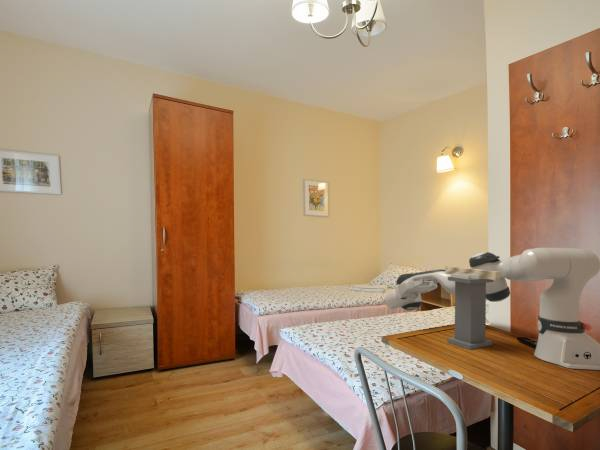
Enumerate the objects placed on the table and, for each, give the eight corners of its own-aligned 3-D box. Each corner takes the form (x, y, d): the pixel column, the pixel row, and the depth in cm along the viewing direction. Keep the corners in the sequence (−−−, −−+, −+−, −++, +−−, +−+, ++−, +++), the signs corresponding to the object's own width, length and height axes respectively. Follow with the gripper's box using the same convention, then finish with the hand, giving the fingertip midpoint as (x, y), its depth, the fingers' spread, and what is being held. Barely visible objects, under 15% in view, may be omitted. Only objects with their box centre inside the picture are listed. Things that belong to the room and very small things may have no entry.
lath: (445, 273, 152) (445, 266, 152) (449, 273, 153) (450, 266, 153) (495, 280, 132) (495, 272, 132) (500, 279, 133) (500, 271, 133)
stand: (447, 342, 139) (447, 273, 140) (469, 338, 146) (470, 272, 146) (469, 349, 130) (470, 276, 131) (493, 344, 137) (493, 275, 138)
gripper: (426, 296, 173) (448, 286, 163) (396, 298, 163) (417, 288, 153) (422, 284, 176) (442, 273, 166) (391, 286, 166) (412, 274, 155)
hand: (430, 280), depth 159 cm, fingers open, 8 cm apart
